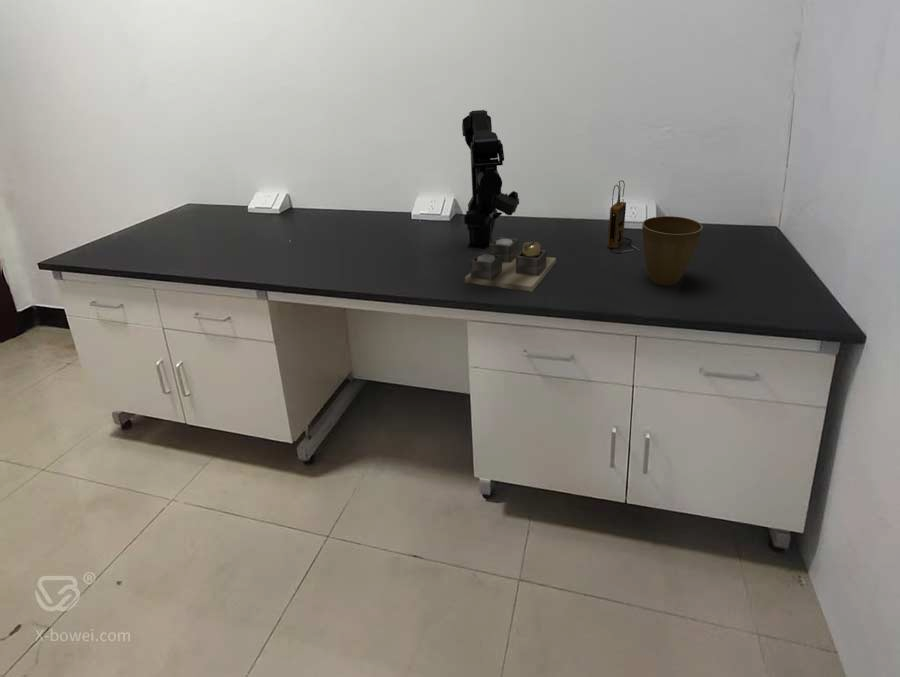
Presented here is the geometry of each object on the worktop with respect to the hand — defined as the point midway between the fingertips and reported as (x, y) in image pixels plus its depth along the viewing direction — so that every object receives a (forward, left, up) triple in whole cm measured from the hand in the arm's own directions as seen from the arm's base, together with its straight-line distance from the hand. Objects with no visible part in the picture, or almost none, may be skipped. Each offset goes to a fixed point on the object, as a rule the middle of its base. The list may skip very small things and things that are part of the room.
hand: (488, 239), depth 168 cm
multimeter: (+32, +35, -12) cm, 49 cm away
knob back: (0, +12, -10) cm, 15 cm away
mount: (+5, +5, -11) cm, 13 cm away
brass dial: (+11, +5, -7) cm, 14 cm away
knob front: (0, -2, -10) cm, 10 cm away
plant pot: (+47, +12, -12) cm, 50 cm away
